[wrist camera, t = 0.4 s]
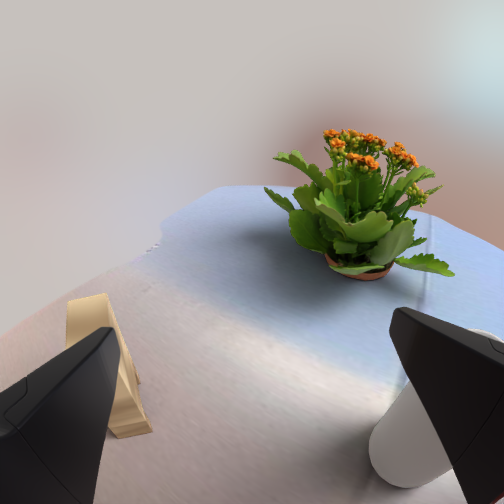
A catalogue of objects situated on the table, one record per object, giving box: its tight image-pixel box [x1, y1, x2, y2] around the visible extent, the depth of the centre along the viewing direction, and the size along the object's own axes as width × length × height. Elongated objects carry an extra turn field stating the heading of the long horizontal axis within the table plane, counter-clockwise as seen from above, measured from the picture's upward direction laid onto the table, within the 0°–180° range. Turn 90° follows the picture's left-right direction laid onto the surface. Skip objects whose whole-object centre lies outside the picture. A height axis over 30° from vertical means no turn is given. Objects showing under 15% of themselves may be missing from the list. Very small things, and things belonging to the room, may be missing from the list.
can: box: [369, 328, 504, 488], centre depth 16 cm, size 8×8×12 cm
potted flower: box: [264, 129, 455, 281], centre depth 36 cm, size 25×24×18 cm
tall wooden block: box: [66, 293, 153, 439], centre depth 20 cm, size 6×3×10 cm, turn 23°
